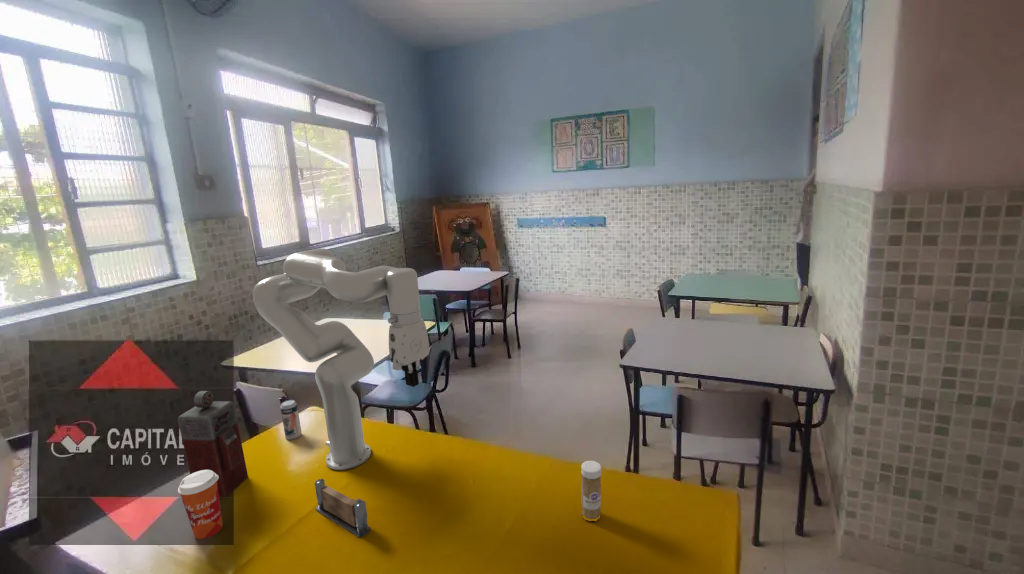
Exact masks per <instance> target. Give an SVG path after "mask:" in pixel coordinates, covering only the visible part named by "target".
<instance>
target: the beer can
mask: <svg viewBox="0 0 1024 574" xmlns="http://www.w3.org/2000/svg"><path fill="white" fill-rule="evenodd" d="M279 408H280V414H281V419H282V425H283V431H284V438H285V439H286V440H291V441H292V440H296V439H297V438H299V437H300V436H301V435H302V427H301V422H300V415H299V409H298V404H297V402H296V400H294V399H289V400H285V401H283V402H281V404H280V407H279Z"/></svg>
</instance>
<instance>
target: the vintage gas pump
mask: <svg viewBox="0 0 1024 574" xmlns="http://www.w3.org/2000/svg"><path fill="white" fill-rule="evenodd" d="M214 399H215V395H214V393H213V392H212V391H211V390H200V391H198V392H196V394H195V395H194V397H193V404H194V406H193V407H192V408H191V409H189V410H187V411H184V412H183V413H182V414H181V415H179V416H178V417H177V423H178V428H179V433H180V436H181V439H182V445H183V451H184V453H185V458H186V462H187V466H188V471H189V475H190V474H192V473H195V472H197V471H201V470H212V471H213V472H215V473H216V474H217V475H218V476H219V478H218V480H217V486H218V493H219V499H226V498H228V497H229V496H230V495H231V494H233V492H234V491H235V490H236V489H237V488H238V487H240V485H242V484H243V482H245V480H247V479H248V478H249V475H248V470H247V469H248V468H247V464H246V460H245V453H244V449H243V443H242V439H241V435H240V434H241V433H240V429H239V423H238V418H237V413H236V407H235V404H234V402H233V401H229V400H227V401H226V400H223V401H222V400H221V401H218V400H214Z"/></svg>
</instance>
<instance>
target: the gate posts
mask: <svg viewBox="0 0 1024 574" xmlns="http://www.w3.org/2000/svg"><path fill="white" fill-rule="evenodd" d="M325 486H326V484H325V479H323V478H319V479H317V480H316V481H314V488H315V493H316V494H315V495H316V499H317V500H316V501H317V506H316V507H315V511H317V512H318V513H320V514H321V515H323V516H325V517H326V518H328V519H329V520H330V521H332V522H334V523H335V524H337V525H339V526H340V527H342V528H343V529H345V530H347V532H350V533H351V534H353V535H354V536H355V537H358V538H361V537H365V536H367V535H368V534H369V533H370V530H371V527H370V526H369V523H368V522H369V521H368V512H367V505H366V504H367V503H366V501H365V500H362V499H361V498H357V499H355V500H356V501H358V502H356V503H355V504H354V509H355V516H356V524H357V526H356V527H353V526H352V525H350V524H349V523H347V522H345V521H344V520H342V519H340V518H339V517H337V516H335V515H334V514H332V513H330V512H329V511H327V510H325V509H324V507H323V500H322V494H321V489H322V488H324V487H325Z"/></svg>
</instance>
